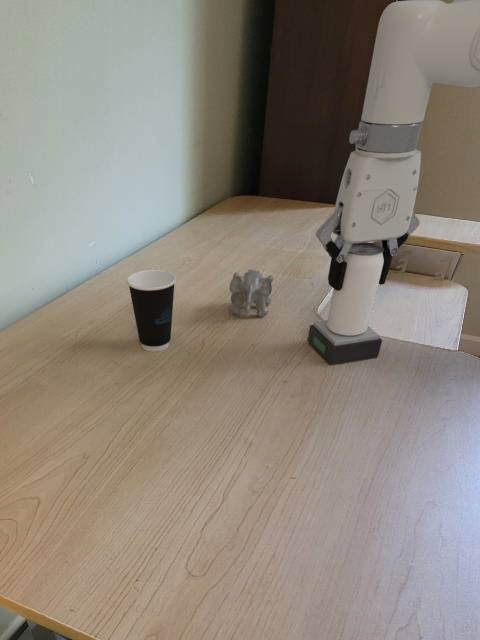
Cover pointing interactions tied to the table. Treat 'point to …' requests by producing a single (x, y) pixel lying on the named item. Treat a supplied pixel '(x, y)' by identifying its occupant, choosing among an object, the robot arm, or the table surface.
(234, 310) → the elephant statuette
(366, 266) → the can
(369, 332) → the scale
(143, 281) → the dixie cup
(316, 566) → the table surface
